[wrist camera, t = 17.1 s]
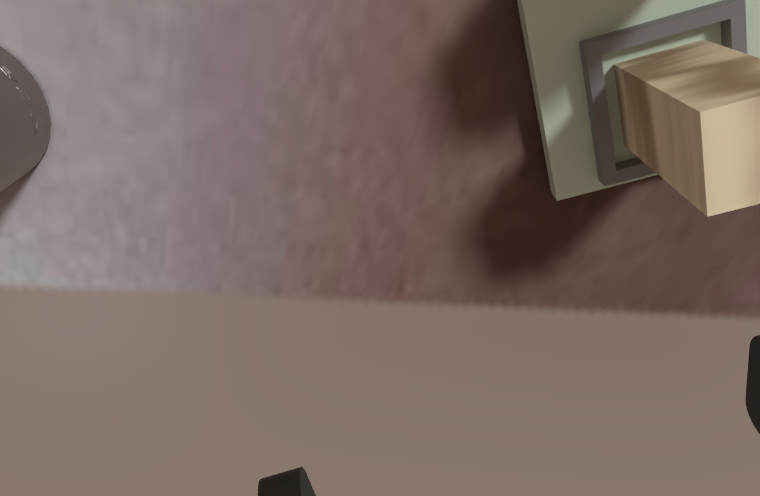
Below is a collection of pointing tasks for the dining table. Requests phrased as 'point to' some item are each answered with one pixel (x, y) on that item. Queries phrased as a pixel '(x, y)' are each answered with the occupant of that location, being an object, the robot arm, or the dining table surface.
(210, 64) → the dining table surface
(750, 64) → the maple pillar
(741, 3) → the baseplate
